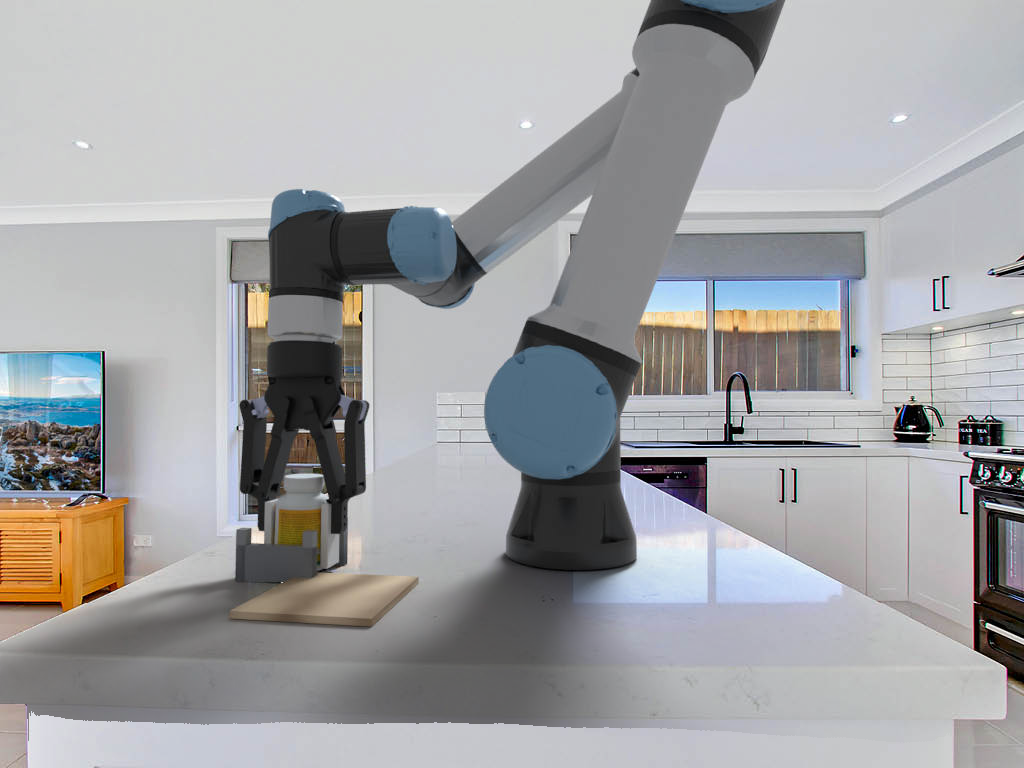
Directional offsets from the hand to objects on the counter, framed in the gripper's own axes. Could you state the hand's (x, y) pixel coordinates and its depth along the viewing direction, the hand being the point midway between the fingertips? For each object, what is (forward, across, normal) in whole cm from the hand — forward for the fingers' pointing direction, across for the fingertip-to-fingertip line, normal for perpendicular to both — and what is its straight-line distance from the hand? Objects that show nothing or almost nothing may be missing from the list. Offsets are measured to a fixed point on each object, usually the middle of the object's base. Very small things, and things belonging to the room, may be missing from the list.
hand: (301, 563), depth 63 cm
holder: (+1, +1, 0) cm, 1 cm away
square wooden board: (+1, -7, +8) cm, 11 cm away
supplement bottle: (+1, 0, 0) cm, 1 cm away
